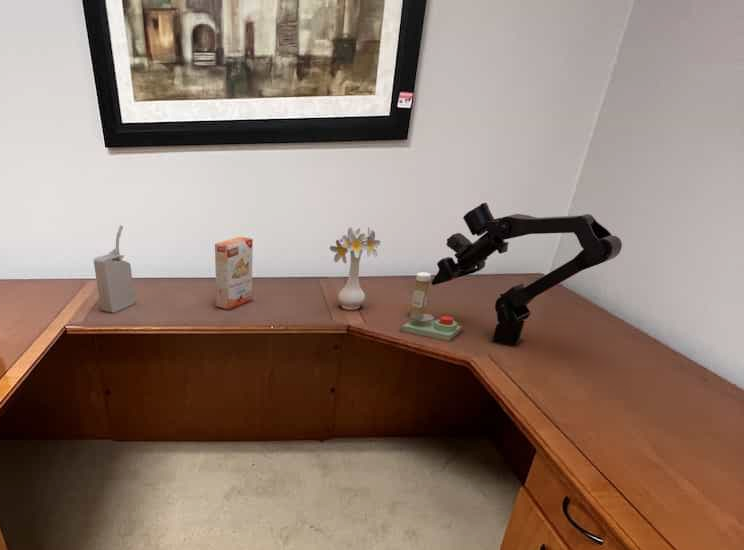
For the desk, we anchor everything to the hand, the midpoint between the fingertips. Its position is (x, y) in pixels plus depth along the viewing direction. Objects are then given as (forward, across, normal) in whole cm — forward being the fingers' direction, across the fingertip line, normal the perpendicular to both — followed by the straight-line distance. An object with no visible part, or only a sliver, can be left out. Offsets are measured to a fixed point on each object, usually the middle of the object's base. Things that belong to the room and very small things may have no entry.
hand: (440, 281), depth 174 cm
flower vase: (+28, +10, -10) cm, 31 cm away
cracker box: (+50, +36, -32) cm, 69 cm away
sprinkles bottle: (+13, 0, +4) cm, 14 cm away
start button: (0, +8, +13) cm, 15 cm away
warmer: (+5, +9, +13) cm, 16 cm away
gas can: (+68, +68, -50) cm, 108 cm away
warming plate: (+5, +10, +8) cm, 14 cm away
